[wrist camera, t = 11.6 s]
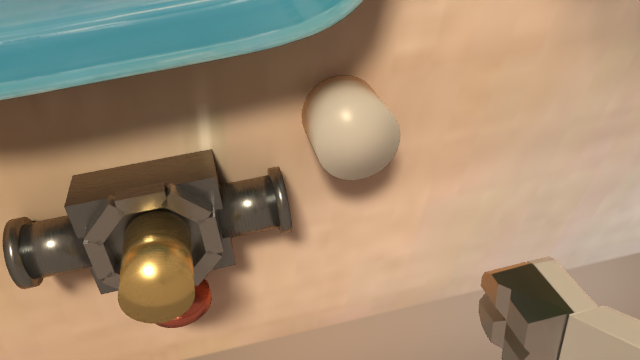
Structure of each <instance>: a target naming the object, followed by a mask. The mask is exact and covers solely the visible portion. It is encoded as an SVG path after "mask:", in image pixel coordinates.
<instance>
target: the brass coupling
mask: <svg viewBox="0 0 640 360" xmlns="http://www.w3.org/2000/svg"><path fill="white" fill-rule="evenodd" d="M194 297H195V287H194V272H193V257H192V243H191V232H190V229H189V227H188V225H187V224H186V222H185V221H184V220H182V219H181V218H180V217H178V216H176V215H174V214H171V213H168V212H160V211H157V212H149V213H145V214H142V215H140V216H138V217H137V218H135V219H134V220H133V221H131V222H130V224H129V225H128V226H127V228H126V230H125V233H124V239H123V250H122V260H121V270H120V280H119V291H118V302H119V305H120V307H121V309H122V310H123V312H124V313H125V314H126V315H128V316H129V317H131V318H133V319H135V320H137V321H140V322H145V323H163V322H168V321H171V320H174V319H176V318H178V317H180V316H181V315H183V314H184V313H185V312H186V311H187V310H188V309H189V308H190V307H191V305H192V303H193V301H194Z"/></svg>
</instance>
